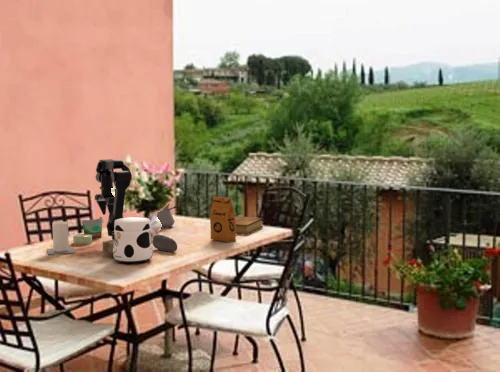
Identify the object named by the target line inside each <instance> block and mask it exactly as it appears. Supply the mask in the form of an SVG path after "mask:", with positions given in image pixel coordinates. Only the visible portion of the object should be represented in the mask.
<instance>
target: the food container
mask: <svg viewBox="0 0 500 372" xmlns="http://www.w3.org/2000/svg"><path fill="white" fill-rule="evenodd" d="M103 223H104V219H103V216H99V218H93V219H87V220H85V219H82V221H81V225H82V227H83V228H82V229H83V234H91V235H92V240H98V239H102V234H103ZM97 238H98V239H97Z"/></svg>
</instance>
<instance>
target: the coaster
mask: <svg viewBox="0 0 500 372" xmlns="http://www.w3.org/2000/svg"><path fill="white" fill-rule="evenodd" d="M46 251H47V256H56V255H55V254H62V255H73V254H74V253H75V254H76V250H75V247H74V246H69V248H68V251H64V252H55V251H54V249H53V248H47V250H46Z"/></svg>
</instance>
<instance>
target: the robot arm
mask: <svg viewBox="0 0 500 372" xmlns="http://www.w3.org/2000/svg"><path fill="white" fill-rule="evenodd" d="M115 170H116V171H115ZM117 170H118V171H117ZM119 170H121V171H119ZM95 171H96V174H95V180H96V182H97V183H100V186H99V189H100V192H101V193H96V194H95V195H94V200H95V202H96V204H97V205H98V207H99V209H100V211H101V213H102V215H106V214H107V213H106V212H108V220H107V222H106V230H107V236H108V237H111V240H115V236H114V223H115V220H117V219H121V218H125V217H124V208H125V198H126V191H127V189H128V188H129V187H130V186H131V181H132V178H133V177H132V176H133V175H132V172H131V170H130V168H129V167H128V166H127V165H126V164H125V163H124V161H123V160H121V159H112V158H111V159H110V158H109V159H99V161H98V162H97V165H96V168H95ZM113 187H115V188H116V189H115V197H114V196H113V195H112V193H111V188H113ZM107 210H108V211H107Z"/></svg>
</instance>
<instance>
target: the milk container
mask: <svg viewBox="0 0 500 372" xmlns="http://www.w3.org/2000/svg"><path fill="white" fill-rule="evenodd" d="M113 232H114V236H115V241H114V246H113V256H114V258H113V259H114V260H115V261H117V262H119V263H123V264H135V263H136V264H138V263H143V262H147V261H149V260H150V259H152V257H153V255H154V246H153V241H152V237H151V234H152V233H151V232H152V231H151V221H150V218H147V217H139V216H138V217H136V216H135V217H134V216H133V217H132V216H131V217H124V218H121V219H117V220H115V223H114V231H113Z"/></svg>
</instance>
